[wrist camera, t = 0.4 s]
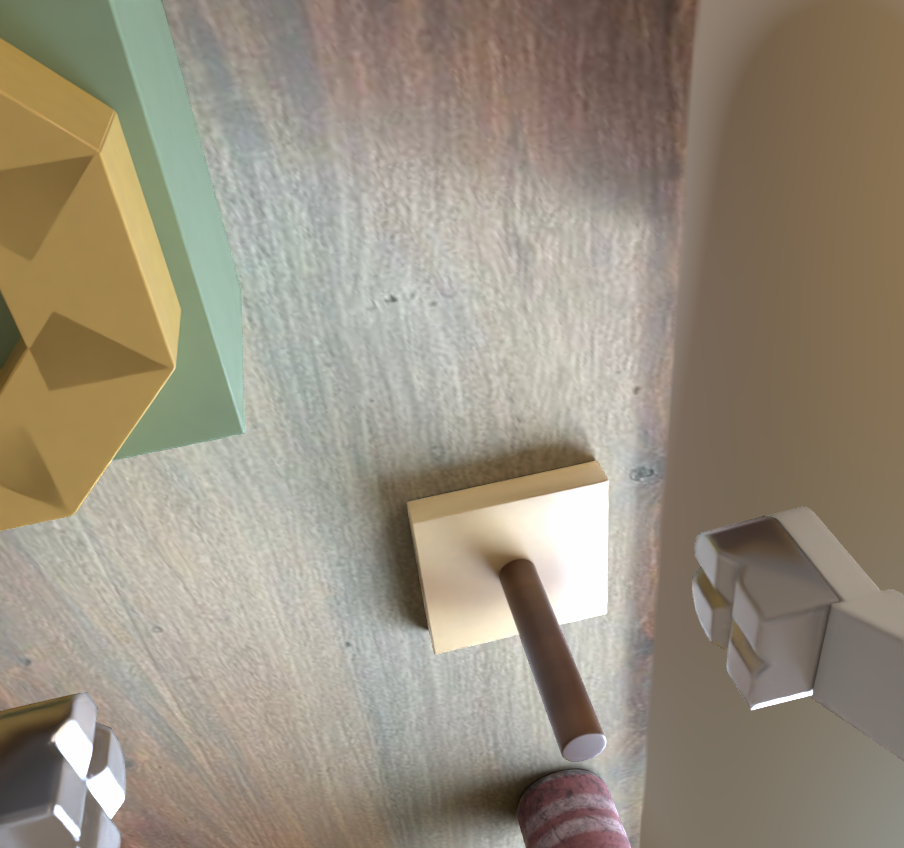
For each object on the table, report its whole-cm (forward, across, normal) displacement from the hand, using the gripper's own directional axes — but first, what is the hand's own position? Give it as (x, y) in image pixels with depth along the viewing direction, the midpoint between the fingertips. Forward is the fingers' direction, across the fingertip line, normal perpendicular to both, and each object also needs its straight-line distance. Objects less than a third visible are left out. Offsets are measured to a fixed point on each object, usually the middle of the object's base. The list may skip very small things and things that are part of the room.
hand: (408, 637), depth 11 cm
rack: (+21, -5, +21) cm, 30 cm away
